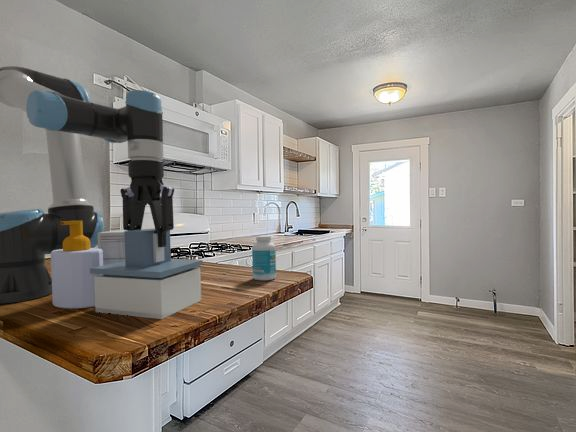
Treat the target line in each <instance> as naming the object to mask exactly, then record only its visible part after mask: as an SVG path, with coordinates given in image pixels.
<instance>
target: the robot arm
mask: <svg viewBox="0 0 576 432" xmlns="http://www.w3.org/2000/svg"><path fill="white" fill-rule="evenodd" d="M124 102H125V106H122V107H120V108H115V107H112V106H108V105H107V106H106V105H104V104H99V103H94V102H91V101H90V97H89V94H88V92H87V90H86V88H85V87H84V86H83V85H81V84H80V83H78V82H75V81H72V80H71V79H67V78H63V77H59V76H55V75H51V74H47V73H44V72H42V71H37V70H33V69H31V68H27V67H23V66H22V67H21V66H17V65H16V66H15V65H14V66H13V65H11V66H10V65H8V66H2V67H0V103H2V104H3V105H6V106H7V107H10V108H16V109H20V110H21V111H23V112H25V113H26V117H27V118H28V121H29V123H30V124H31V125H32V126H34V127H36V128H41V129H43V130H45V136H46V144H47V146H46V147H47V152H48V153H47V155H48V163H49V171H50V172H49V173H50V182H51V183H50V184H51V191H52V201H53V202H52V204H51V205H49V207H47V213H45V211H44V210H43V209H42V208H34V209H23V210H15V211H13V210H12V211H6V212H0V304H1V305H2V304H3V305H4V304H11V303H20V302H24V301H30V300H34V299H39V298H42V297H46V296H49V295H51V294H52V276H51V275H50V272H49V270H48V269H47V267H46V255H51V252H52V251H54V250H59V249H63V241H64V239H65V238H67V237H68V236H70V225H61V222H62V221H82V225H83V235H84V236H86V237H88V238H89V240H90V245H91V248H96V247H98V239H97V233H99V232H105V231H104V229H105V227H104V226H105V224H104V218H103V215H101V214H100V213H99V212H97V211H95V210H94V205H93V203H90V202H89V201H88V197H87V188H86V180H85V179H86V178H85V170H84V161H83V153H82V152H83V151H82V144H81V136H88V137H92V138H99V139H103V140H104V141H106V142H107V143H110V144H117V143H118V144H122V143H126V142H127V158H128V159H129V161H128V162H127V163H128V165H127V166H128V167H127V168H128V177H130V179H131V181H130V184H129V186H128V187H126V188H121V189H120V194H121V198H122V227H123V229H122V230H127V231H132V230H142V228H143V221H144V216H145V212H146V211H145V210H146V206H147V205H148V206H149V210H150V213H151V218H152V221H153V226H154V228H155V230H156V231H154V233H155V234H153V254H154V262H160V261H164V247H166V232H167V231H169V230H170V231H172V230H174V228H175V227H174V226H175V225H174V223H175V222H174V207H173V206H174V205H173V204H174V201H173V198H174V193H175V188H174V187H173V186H166V185H165V184H164V182H163V178H164V176H165V172H164V171H165V170H164V169H165V168H164V164H165V163H163V162H162V161H164V159H165V157H164V143H163V141H164V140H163V139H164V138H163V131H164V130H163V127H164V125H163V115H164V114H163V109H162V108H163V107H162V99H161V97H160V96H159V95H157V94H156V93H154V92H151V91H148V90H142V89H135V90H134V89H133V90H130V91H128V92H127V93H126V96H125V101H124Z"/></svg>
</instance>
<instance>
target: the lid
mask: <svg viewBox="0 0 576 432" xmlns="http://www.w3.org/2000/svg"><path fill="white" fill-rule="evenodd" d="M154 231H156V230H155V227H154V228H153V227H152V228H143V229H141V230H132V231H124V236H125V261H122V262H117V263H112V264H108V265H103V266H98V267H93V268H90V274H104V276H115V277H132V278H149V279H162V278H166V277H169V276H172V275H175V274H178V273H182V272H185V271H188V270H191V269H192V268H199V267H201V266H203V264H204V263H203V259H185V258H184V259H183V258H180V259H179V258H172V254H171V251H172V250H171V247H172V246H171V230H169V231H167V232H166V247H164V261H160V262H154V254H153V234H155V233H154Z"/></svg>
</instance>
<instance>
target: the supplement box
mask: <svg viewBox="0 0 576 432" xmlns="http://www.w3.org/2000/svg"><path fill="white" fill-rule="evenodd" d="M124 231H127V230H124V229H121V230H120V229H119V230H110V231H103V232H99V233H97V239H98V245H97V248H98V249H102V251H103V265H108V264H112V263H117V262H122V261H125V236H124Z"/></svg>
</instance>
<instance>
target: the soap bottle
mask: <svg viewBox="0 0 576 432" xmlns="http://www.w3.org/2000/svg"><path fill="white" fill-rule="evenodd" d="M61 225H70V236H68V237H67V238H65V239H64V241H63V249H59V250H54V251H52V252H51V254H50V269H51V279H52V293H51V294H52V306H54V307H56V308H61V309H74V310H75V309H86V308H93V307H95V284H94V276H98V275H103V274H90V268H93V267H98V266H103V251H102V249H98V247H97V248H96V247H94V248H91V245H90V240H89V238H88V237H86V236H84V235H83V225H82V221H62V222H61Z"/></svg>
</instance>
